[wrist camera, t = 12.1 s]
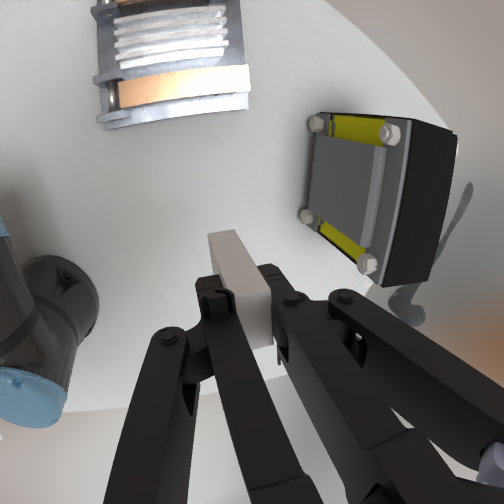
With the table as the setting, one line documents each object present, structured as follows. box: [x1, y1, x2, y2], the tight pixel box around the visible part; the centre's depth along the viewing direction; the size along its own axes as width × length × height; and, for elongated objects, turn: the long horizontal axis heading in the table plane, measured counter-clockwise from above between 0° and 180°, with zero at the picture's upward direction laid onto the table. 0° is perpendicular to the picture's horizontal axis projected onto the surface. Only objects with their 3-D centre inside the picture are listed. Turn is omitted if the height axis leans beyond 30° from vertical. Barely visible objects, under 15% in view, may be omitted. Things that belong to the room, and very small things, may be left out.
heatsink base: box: [91, 0, 249, 130], centre depth 29 cm, size 18×20×9 cm
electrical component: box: [300, 112, 458, 288], centre depth 37 cm, size 18×10×20 cm, turn 176°
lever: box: [118, 65, 250, 109], centre depth 29 cm, size 14×3×1 cm, turn 94°
